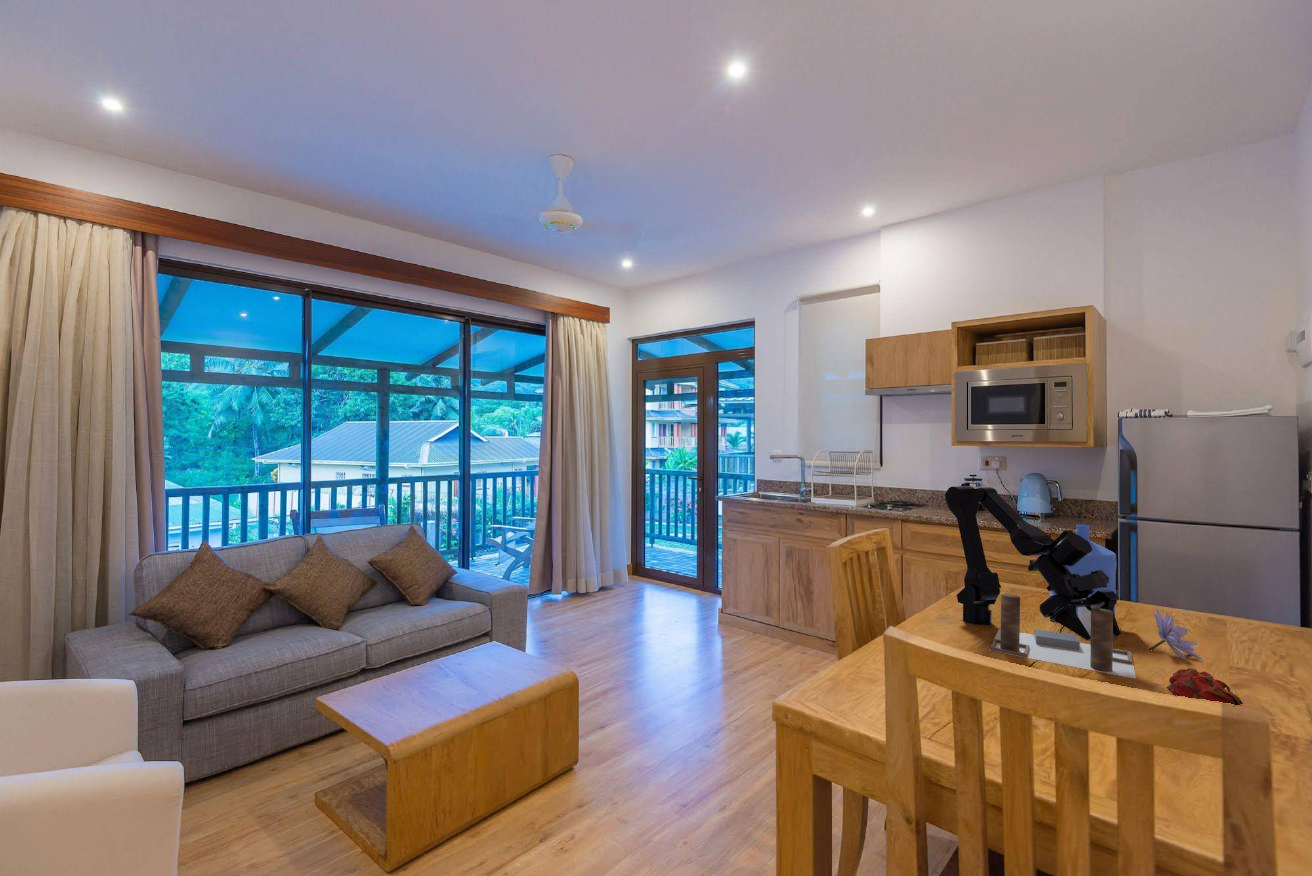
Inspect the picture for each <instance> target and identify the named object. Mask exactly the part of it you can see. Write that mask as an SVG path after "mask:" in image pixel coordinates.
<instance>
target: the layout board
mask: <svg viewBox="0 0 1312 876" xmlns="http://www.w3.org/2000/svg"><path fill="white" fill-rule="evenodd" d="M1000 643H1001V628H998V630H997V633H996V634H995V636H994V638H993V641H992V642H991V645H990V647H989V652H990V651H991V652H994V653H995V652H996V653H999V654H1006V655H1011V656H1017V657H1021V658H1026V659H1031V660H1032V659H1033V660H1037V661H1043V662H1047V663H1052V664H1058V665H1062V666H1068V667H1071V668H1072V667H1073V668H1078V669H1081V670H1082V669H1083V670H1087V671H1094V672H1097V673H1098V672H1099V673H1104V674H1109V675H1114V676H1120V677H1124V678H1130V679H1135V680H1136V678H1137V677H1136V673H1135V672H1136V670H1135V667H1134V663H1133V662H1134V661H1133V656H1132V652H1131V651H1128V650H1123V649H1117V648H1113V665H1112V671H1111V672H1103V671H1098V670H1095V669H1093V668H1091V667H1090V656H1091V644H1088V643H1082V642H1080V650H1075V649H1069V648H1062V647H1055V646H1048V645H1041V644H1036V642H1035V639H1034V634H1030V633H1024V632H1020V642H1019V652H1016V651H1011V650H1005V649H1001V648H1000Z"/></svg>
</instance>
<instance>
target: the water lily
mask: <svg viewBox="0 0 1312 876" xmlns="http://www.w3.org/2000/svg"><path fill="white" fill-rule="evenodd" d="M1154 617H1155V618H1154V619H1155V622H1156V625H1157V628H1158V629H1157V634H1158V636H1159V639H1161V641H1159V642H1157V643H1156V644H1153V646H1151V647H1150V648H1149V650H1150V651H1151V650H1152V651H1154V650H1156V648H1158V647H1159V646H1160V645H1162V644H1164V643H1166V644H1167V645H1168V647H1169V648H1170V650H1172V651H1173V652H1174V654H1175V655H1176V656H1178V657H1179V658H1180V659H1187V657H1186V656H1185V655H1184V654H1183V653H1185V654H1188V655H1190V656H1192V657H1194V658H1197V659H1200V660H1201V661H1202V660H1203V661H1204V660H1205V659H1204V658H1203V657H1201V656H1200V655H1199V654H1197V653H1195V652H1196V650H1195V649H1194V648H1193V647H1200V644H1199V643H1196V642H1194V641H1190V640H1185V639H1184V636H1186V635H1187V634H1188V628H1185V627H1181V626H1179V625H1174V623H1175V622H1174V616H1171V617H1170V614H1169V612H1165V614H1164V617H1163V616H1162V614H1161V612H1160V611H1159V609H1157V608H1155V613H1154ZM1152 651H1151V652H1152ZM1181 651H1182V652H1183V653H1182V652H1181Z"/></svg>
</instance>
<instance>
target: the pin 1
mask: <svg viewBox="0 0 1312 876" xmlns="http://www.w3.org/2000/svg"><path fill="white" fill-rule="evenodd" d="M1000 595H1001V598H1000V629H1001V643H1000V648H1001V649H1005V650H1011V651H1016V652H1019V642H1020V633H1021V632H1020V630H1021V629H1020V627H1021V626H1020V624H1021V623H1020V622H1021V597H1020V596H1019V595H1015V594H1012V593H1011V594H1009V593H1002V594H1000Z"/></svg>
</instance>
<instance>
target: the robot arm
mask: <svg viewBox="0 0 1312 876" xmlns="http://www.w3.org/2000/svg"><path fill="white" fill-rule="evenodd" d="M944 499H945V501H946V502H945V503H947V504H946V505H947V507H948V510H949V511H950V512H951V513H952V515H954V516H955V518H956V519H957V520H956V521H957V526H958V530H959V534H960V535H959V536H960V538H961V543H962V548H963V552H964V557H965V558H964V559H965V562H966V566H967V568H966V572H965V576H964V579H963V581H964V582H963V583H964V588H962V589H961V590H959V592H958V593H957V594H956V599H957V602H958V603H959V604H962V622H965V623H968V624H972V625H977V626H981V625H982V626H983V625H984V626H991V625H992V622H993V620H992V617H993V615H992V614H993V610H992V609H991V608H990V606H991V605H992V606H993V605H995V604H996V602H997V599H998V597H999V596H1000V595H1001V589H1000V588H1002V585H1001V583H1000V581H999V575H998V573H997V571H996V572H993V571H991V569H990V568H989V567H988V565H987V560H986V556H985V551H984V546H983V542H982V537H981V533H980V530H979V529H980V528H979V524H978V520H977V513H978V511H979V508H980V504H981V505H982V506H983V507H984V508H985V509H986V510H987V511H988V513H990V514H991V515H992V516H993V517H994V519H996V521H997V522H998V523H1000V525H1001V526H1002V527H1003V528H1004V529H1005V530H1006V531H1007V533H1008V534H1009V539H1010V542H1011V544H1012V545H1013V546H1014V548H1015V549H1016V550H1017V552H1018V553H1019V554H1020V555H1022V556H1026V557H1030V556H1031V557H1032V556H1034V557H1035V556H1038V557H1036V559H1029V563H1028V564H1029V565H1028V566H1027V567H1028V568H1027V570H1028V571H1029V572H1037V571H1038V572H1039V574H1040V575H1041V576H1042V578H1043V579H1044V580H1045V583H1046V584H1047V586H1046V589H1047V591H1048V592H1051V591H1054V593H1055V594H1056V595H1052V596H1050V595H1049V597H1048V598H1046V599H1045V600H1044V601H1043V602H1042V603H1040V604H1039V612H1040V613H1041V615H1042V616H1043V618H1049V620H1050V621H1052V620H1054V621H1056V622H1058V623H1057V624H1060V625H1061V626H1063V627H1065V628H1066V629H1068V630H1069V631H1071V632H1073V634H1074V633H1075V635H1078V636H1079V637H1081V638H1082V639H1084V640H1086V641H1090V640H1091V636H1090V635H1089V633H1088V631H1087V630H1086V628H1085V627H1084V625H1083V624H1082V622H1081V621H1080V619H1079V618H1078V616H1077V614H1076V607H1086V608H1087V609H1088V610H1089V611H1091V609H1092V608H1100V609H1106V610H1110V611H1112V612H1113V636H1115V637H1120V636H1121V635H1122V633H1121V630H1120V627H1119V624H1118V622H1117V619H1116V614H1115V615H1114V611H1113V610H1114V605H1115V606H1116V605H1117V603H1118V602H1117V601H1119V599H1120V597H1119V596H1118V595H1117V593H1116V594H1115V593H1114V591H1110V590H1102V591H1097V592H1095V593H1094V594H1093V595H1091V596H1090V597H1089V596H1088V595H1089V594H1092V593H1093V592H1094V591H1093V589H1096V588H1101V587H1103V588H1105V587H1108V586H1107V583H1109V577H1108V576H1107V575H1106V574H1105V573H1104V572H1103V571H1102V570H1096V571H1093V572H1091V574H1088V575H1083V576H1080V575H1079V574H1072V573H1071V572H1070V570H1069V569H1068V568H1067V566H1074V565H1075V564H1077V563H1078V562H1079V561H1080V560H1082V559H1083V558H1084V557H1085V556H1087V555H1088V554H1089V553H1090V552H1091V551H1092V547H1091V545H1090V543H1089V542H1088V541H1087V540H1085V539H1084V538H1082V537H1081V536H1079V535H1077V534H1076V533H1075V532H1073V530H1072V529H1065V530H1063V531H1062V532H1061V533H1060V534H1059V536H1058V537H1056V538H1055V539H1054V538H1051V537H1050V535H1048V534H1047V533H1046V532H1045V531H1043V530H1042V529H1041V528H1039V527H1038V526H1035V525H1033V524H1031V523H1029V522H1027V521H1026V520H1024V518H1022V516H1020V515H1019V514H1018V512H1016V510H1015V509H1014V508H1013V507H1011V505H1010V504H1009V503H1007V502H1006V501H1005V500H1004V498H1002V496H1001V495H999V492H998V491H997V489H996V488H993V487H991V486H989V487H988V486H987V487H986V486H984V487H983V486H981V487H977V488H974V487H973V486H971V485H964V486H961V485H960V486H959V485H957V486H950V487H949V488H948V489H947V490H946V492H945V493H944ZM1066 565H1067V566H1066ZM1054 621H1053V622H1054ZM1056 622H1055V623H1056Z"/></svg>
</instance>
